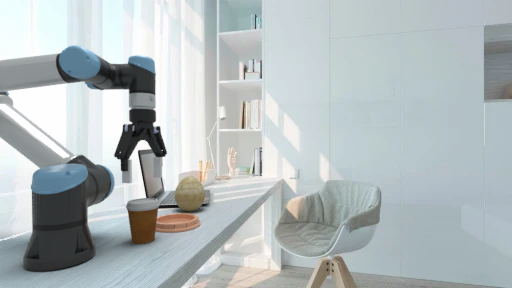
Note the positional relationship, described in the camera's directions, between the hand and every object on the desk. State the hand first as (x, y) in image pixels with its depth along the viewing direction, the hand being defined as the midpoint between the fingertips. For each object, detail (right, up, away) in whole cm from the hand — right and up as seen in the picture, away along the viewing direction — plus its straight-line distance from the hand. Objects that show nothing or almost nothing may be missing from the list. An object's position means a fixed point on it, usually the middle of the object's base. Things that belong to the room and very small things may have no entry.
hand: (143, 180), depth 89 cm
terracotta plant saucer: (+5, -18, +16) cm, 25 cm away
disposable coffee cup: (0, -18, 0) cm, 18 cm away
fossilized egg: (+5, -18, +38) cm, 43 cm away
